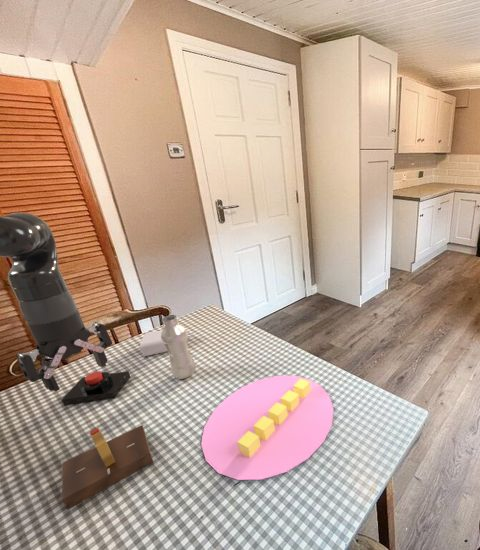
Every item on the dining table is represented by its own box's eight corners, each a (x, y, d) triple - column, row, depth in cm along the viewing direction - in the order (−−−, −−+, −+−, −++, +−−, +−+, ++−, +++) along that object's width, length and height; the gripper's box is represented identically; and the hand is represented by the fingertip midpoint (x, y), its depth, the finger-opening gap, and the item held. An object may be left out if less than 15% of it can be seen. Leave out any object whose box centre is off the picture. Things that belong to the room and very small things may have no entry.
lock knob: (115, 462, 63) (105, 440, 61) (106, 467, 62) (95, 446, 60) (107, 447, 67) (98, 426, 64) (98, 452, 65) (88, 431, 63)
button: (83, 386, 84) (81, 381, 83) (91, 377, 87) (89, 372, 86) (98, 384, 84) (96, 379, 84) (106, 375, 88) (104, 370, 87)
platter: (355, 396, 84) (355, 387, 83) (276, 509, 58) (274, 497, 56) (267, 364, 97) (266, 355, 96) (170, 443, 71) (167, 433, 70)
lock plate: (67, 509, 58) (61, 499, 57) (67, 472, 65) (62, 461, 63) (153, 462, 67) (149, 452, 65) (145, 433, 73) (142, 424, 72)
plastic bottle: (193, 364, 97) (178, 309, 90) (200, 374, 93) (185, 318, 85) (170, 374, 93) (153, 317, 86) (176, 385, 89) (159, 326, 81)
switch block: (64, 405, 82) (58, 394, 80) (85, 383, 90) (80, 372, 88) (114, 398, 84) (110, 387, 82) (130, 376, 92) (126, 366, 91)
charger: (194, 346, 106) (143, 358, 101) (195, 333, 114) (148, 343, 108) (191, 335, 105) (139, 346, 99) (193, 322, 112) (145, 332, 107)
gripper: (11, 335, 54) (47, 404, 60) (103, 302, 66) (125, 362, 72) (-7, 326, 57) (29, 393, 63) (84, 295, 69) (106, 354, 75)
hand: (80, 376), depth 67 cm, fingers open, 8 cm apart
